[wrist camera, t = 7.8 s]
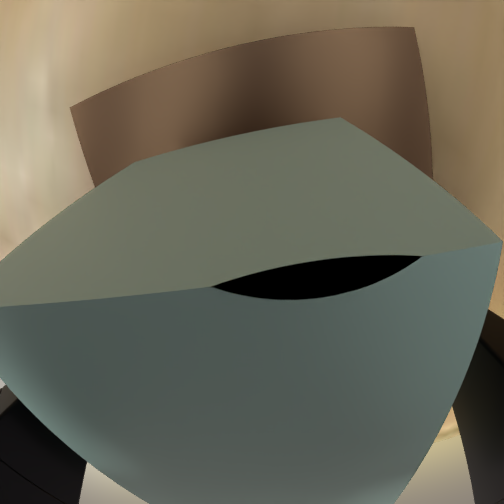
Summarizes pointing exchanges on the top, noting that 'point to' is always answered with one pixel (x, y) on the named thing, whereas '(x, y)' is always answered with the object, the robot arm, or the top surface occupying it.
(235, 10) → the top surface
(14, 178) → the top surface
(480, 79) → the top surface
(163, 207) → the teal block
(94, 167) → the peg stand
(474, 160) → the top surface
